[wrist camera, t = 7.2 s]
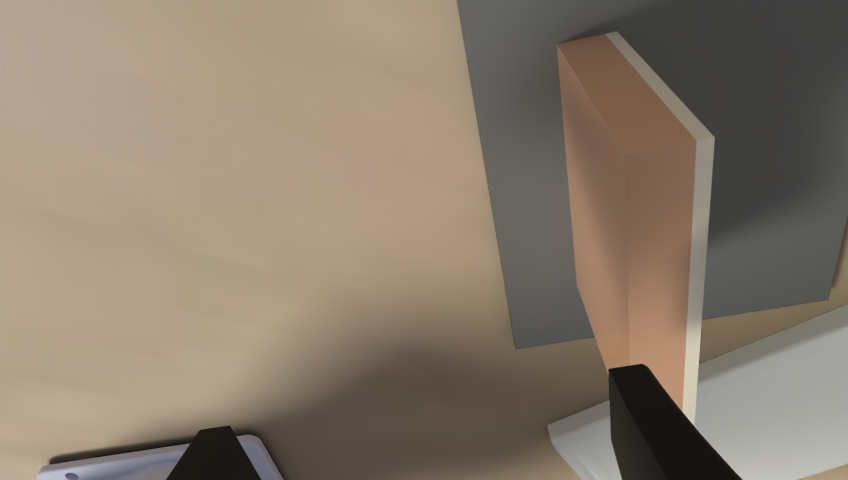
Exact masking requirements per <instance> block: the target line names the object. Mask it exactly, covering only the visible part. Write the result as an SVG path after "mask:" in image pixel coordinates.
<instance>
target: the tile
mask: <svg viewBox="0 0 848 480" xmlns="http://www.w3.org/2000/svg"><path fill="white" fill-rule="evenodd" d="M557 54H558V66H559V78H560V90H561V102H562V114H563V126H564V138H565V150H566V162H567V173H568V185H569V197H570V209H571V221H572V233H573V245H574V257H575V269H576V281H577V287H578V290H579V293H580V296H581V298H582V301H583V304H584V307H585V310H586V313H587V316H588V318H589V321H590V324H591V327H592V330H593V333H594V336H595V339H596V341H597V344H598V347H599V350H600V353H601V356H602V359H603V361H604V364H605V367H606V370H607V373H608V376H609V371H608V369H610V368H617V367H623V366H630V365H637V364H644V365H646V366H647V367H649V369H650V370H651V371H652V373H653V374H654V376H655V377H656V378H657V380H658V381H659V383H660V384H661V385H662V387H663V388H664V389H665V391H666V392H667V393H668V394H669V396H670V397H671V398H672V400H673V401H674V402H675V403H676V405H677V406H678V407H679V408H680V410H681V411H682V412H683V413H684V414H685V416H686V417H687V418H688V419H689V420H690V422H691V423H692V424H693V425H694V423H695V409H696V395H697V381H698V367H699V353H700V339H701V324H702V310H703V296H704V282H705V268H706V254H707V240H708V226H709V212H710V198H711V184H712V170H713V156H714V141H715V137H714V136H713V135H712V134H711V133H710V132H709V131H708V129H707V128H706V127H705V126H704V125H703V124H702V123H701V122H700V121H699V120H698V119H697V118H696V116H695V115H694V114H693V113H692V112H691V111H690V110H689V109H688V108H687V107H686V106H685V105H684V103H683V102H682V101H681V100H680V99H679V98H678V97H677V96H676V95H675V94H674V93H673V91H672V90H671V89H670V88H669V87H668V86H667V85H666V84H665V83H664V82H663V81H662V80H661V78H660V77H659V76H658V75H657V74H656V73H655V72H654V71H653V70H652V69H651V68H650V67H649V65H648V64H647V63H646V62H645V61H644V60H643V59H642V58H641V57H640V56H639V55H638V53H637V52H636V51H635V50H634V49H633V48H632V47H631V46H630V45H629V44H628V43H627V42H626V40H625V39H624V38H623V37H622V36H621V35H620V34H619V33H618V32H617V31H616V32H611V33H606V34H602V35H597V36H592V37H587V38H583V39H578V40H573V41H568V42H564V43H559V44H557Z"/></svg>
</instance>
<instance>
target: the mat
mask: <svg viewBox="0 0 848 480" xmlns="http://www.w3.org/2000/svg"><path fill="white" fill-rule="evenodd" d="M457 4H458V10H459V16H460V22H461V28H462V33H463V39H464V45H465V51H466V57H467V63H468V69H469V75H470V81H471V87H472V93H473V99H474V105H475V111H476V117H477V123H478V129H479V135H480V141H481V147H482V153H483V159H484V164H485V170H486V176H487V182H488V188H489V194H490V200H491V206H492V212H493V218H494V224H495V230H496V236H497V242H498V248H499V254H500V260H501V266H502V272H503V278H504V284H505V289H506V295H507V301H508V307H509V313H510V319H511V325H512V331H513V337H514V343H515V348H516V349H522V348H528V347H534V346H541V345H547V344H553V343H559V342H566V341H572V340H578V339H585V338H591V337H595V336H594V333H593V330H592V327H591V324H590V321H589V318H588V316H587V313H586V310H585V307H584V304H583V301H582V298H581V296H580V293H579V290H578V287H577V281H576V269H575V257H574V245H573V233H572V221H571V209H570V197H569V185H568V173H567V162H566V150H565V138H564V126H563V114H562V102H561V90H560V78H559V66H558V54H557V44H559V43H564V42H568V41H573V40H578V39H583V38H587V37H592V36H597V35H602V34H606V33H611V32H616V31H617V32H618V33H619V34H620V35H621V36H622V37H623V38H624V39H625V40H626V42H627V43H628V44H629V45H630V46H631V47H632V48H633V49H634V50H635V51H636V52H637V53H638V55H639V56H640V57H641V58H642V59H643V60H644V61H645V62H646V63H647V64H648V65H649V67H650V68H651V69H652V70H653V71H654V72H655V73H656V74H657V75H658V76H659V77H660V78H661V80H662V81H663V82H664V83H665V84H666V85H667V86H668V87H669V88H670V89H671V90H672V91H673V93H674V94H675V95H676V96H677V97H678V98H679V99H680V100H681V101H682V102H683V103H684V105H685V106H686V107H687V108H688V109H689V110H690V111H691V112H692V113H693V114H694V115H695V116H696V118H697V119H698V120H699V121H700V122H701V123H702V124H703V125H704V126H705V127H706V128H707V129H708V131H709V132H710V133H711V134H712V135H713V136H714V137H715V141H714V156H713V170H712V184H711V198H710V212H709V226H708V240H707V254H706V268H705V282H704V296H703V310H702V320H704V319H710V318H717V317H723V316H729V315H736V314H742V313H748V312H754V311H761V310H767V309H773V308H780V307H786V306H792V305H799V304H805V303H811V302H817V301H824V300H829V295H830V291H831V286H832V282H833V278H834V273H835V269H836V265H837V260H838V256H839V252H840V247H841V243H842V238H843V234H844V230H845V225H846V221H847V217H848V0H457Z"/></svg>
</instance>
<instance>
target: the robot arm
mask: <svg viewBox="0 0 848 480" xmlns="http://www.w3.org/2000/svg"><path fill="white" fill-rule="evenodd" d="M608 371H609V400H610V429H611V442H612V445H613V449H614V453H615V456H616V460H617V464H618V467H619V471H620V475H621V478H622V480H742V479H741V477H740V476H739V475H738V474H737V473H736V472H735V471H734V470H733V469H732V468H731V467H730V466H729V465H728V463H727V462H726V461H725V460H724V459H723V458H722V457H721V456H720V455H719V454H718V452H717V451H716V450H715V449H714V448H713V447H712V446H711V445H710V444H709V443H708V441H707V440H706V439H705V438H704V437H703V436H702V435H701V433H700V432H699V431H698V430H697V429H696V428H695V426H694V425H693V424H692V423H691V422H690V420H689V419H688V418H687V417H686V416H685V414H684V413H683V412H682V411H681V410H680V408H679V407H678V406H677V405H676V403H675V402H674V401H673V400H672V398H671V397H670V396H669V394H668V393H667V392H666V391H665V389H664V388H663V387H662V385H661V384H660V383H659V381H658V380H657V378H656V377H655V376H654V374H653V373H652V371H651V370H650V369H649V367H647V366H646V365H644V364H637V365H630V366H623V367H617V368H610V369H608ZM37 479H38V480H283V478H282V476H281V474H280V473H279V471H278V469H277V467H276V466H275V464H274V462H273V460H272V459H271V457H270V455H269V453H268V452H267V450H266V448H265V446H264V445H263V443H262V441H261V440H260V439H259V438H258V437H256V436H253V435H242V436H236V435H235V434H234V432H233V430H232V428H231V427H230V426H224V427H217V428H210V429H204V430H200V431H199V432H198V434H197V435H196V436H195V438H194V439H193V441H192V442H191V443H189V444H182V445H176V446H169V447H163V448H156V449H149V450H143V451H136V452H130V453H123V454H116V455H110V456H103V457H97V458H90V459H84V460H77V461H70V462H64V463H57V464H51V465H46V466H43V467H42V468H41V469H40V471H39V473H38V475H37Z"/></svg>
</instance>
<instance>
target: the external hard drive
mask: <svg viewBox="0 0 848 480" xmlns="http://www.w3.org/2000/svg"><path fill="white" fill-rule="evenodd" d="M694 426H695V428H696V429H697V430H698V431H699V432H700V433H701V435H702V436H703V437H704V438H705V439H706V440H707V441H708V443H709V444H710V445H711V446H712V447H713V448H714V449H715V450H716V451H717V452H718V454H719V455H720V456H721V457H722V458H723V459H724V460H725V461H726V462H727V463H728V465H729V466H730V467H731V468H732V469H733V470H734V471H735V472H736V473H737V474H738V475H739V476H740V477H741V479H742V480H798V479H801V478H805V477H808V476H811V475H814V474H817V473H821V472H824V471H827V470H830V469H833V468H836V467H839V466H842V465H845V464H848V304H847V305H845V306H842V307H840V308H837V309H835V310H832V311H830V312H827V313H824V314H822V315H819V316H817V317H815V318H812V319H810V320H807V321H805V322H802V323H800V324H797V325H795V326H792V327H790V328H787V329H785V330H782V331H780V332H777V333H775V334H772V335H770V336H767V337H765V338H762V339H760V340H757V341H755V342H752V343H750V344H747V345H745V346H742V347H740V348H737V349H735V350H732V351H730V352H727V353H725V354H722V355H720V356H718V357H715V358H713V359H710V360H708V361H705V362H703V363H700V364H699V367H698V381H697V395H696V409H695V423H694ZM547 427H548V431H549V437H550V440H551V443H552V444H553V446H554V448H555V449H556V451H557V452H558V453H559V454H560V455H561V456H562V458H563V459H564V460H565V461H566V462H567V464H568V465H569V466H570V467H571V468H572V469H573V470H574V472H575V473H576V474H577V475H578V477H579V478H580V479H581V480H622V478H621V475H620V471H619V467H618V464H617V460H616V456H615V453H614V449H613V445H612V442H611V429H610V400H608V401H605V402H603V403H600V404H598V405H595V406H593V407H590V408H588V409H585V410H583V411H580V412H578V413H575V414H573V415H570V416H568V417H565V418H563V419H560V420H558V421H555V422H553V423H550V424H548V425H547Z"/></svg>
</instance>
